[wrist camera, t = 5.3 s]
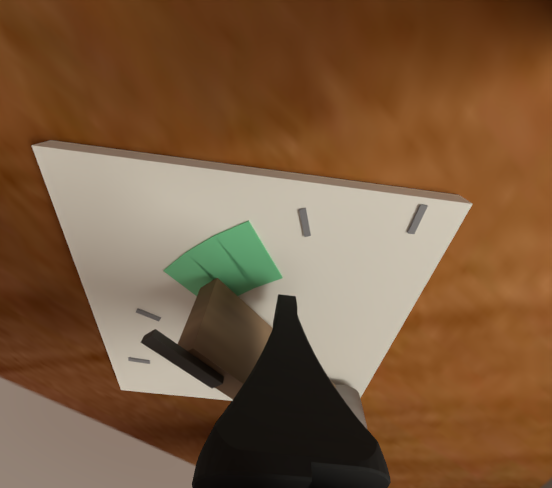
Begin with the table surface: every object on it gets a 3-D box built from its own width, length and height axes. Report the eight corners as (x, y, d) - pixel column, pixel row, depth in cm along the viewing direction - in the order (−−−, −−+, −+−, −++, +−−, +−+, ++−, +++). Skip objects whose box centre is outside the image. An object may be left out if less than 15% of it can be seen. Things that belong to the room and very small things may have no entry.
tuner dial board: (349, 399, 21) (352, 413, 21) (127, 377, 21) (120, 391, 20) (459, 194, 12) (474, 204, 11) (50, 140, 11) (29, 146, 10)
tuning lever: (366, 399, 19) (388, 484, 15) (330, 411, 20) (341, 493, 16) (208, 248, 12) (171, 329, 8) (166, 277, 13) (115, 362, 9)
